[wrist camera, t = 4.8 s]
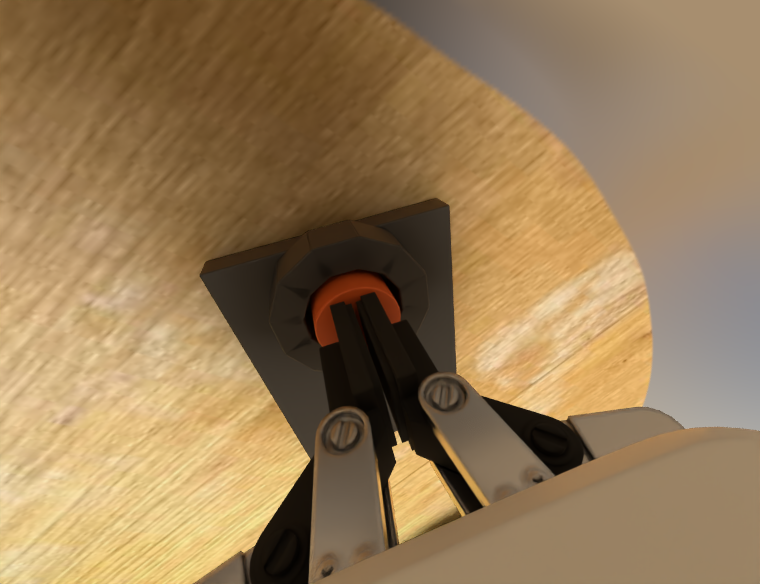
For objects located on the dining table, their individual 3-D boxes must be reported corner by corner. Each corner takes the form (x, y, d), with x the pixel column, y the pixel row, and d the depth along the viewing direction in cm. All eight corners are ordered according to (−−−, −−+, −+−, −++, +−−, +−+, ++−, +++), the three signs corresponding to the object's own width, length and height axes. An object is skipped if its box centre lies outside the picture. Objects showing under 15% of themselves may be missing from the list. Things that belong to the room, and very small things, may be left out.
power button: (299, 275, 12) (303, 304, 10) (378, 251, 12) (394, 276, 10) (322, 336, 13) (328, 369, 12) (390, 313, 14) (406, 342, 12)
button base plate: (197, 248, 12) (176, 288, 9) (436, 185, 13) (473, 203, 11) (310, 445, 20) (315, 493, 17) (450, 393, 21) (472, 431, 19)
